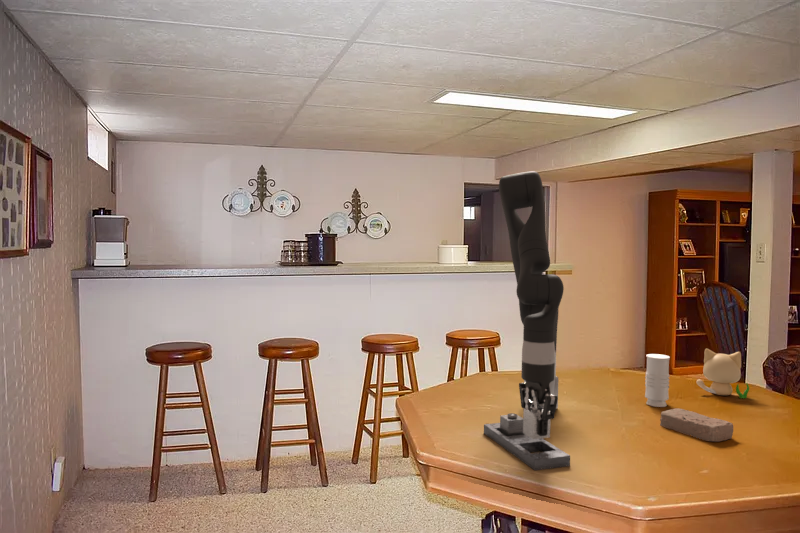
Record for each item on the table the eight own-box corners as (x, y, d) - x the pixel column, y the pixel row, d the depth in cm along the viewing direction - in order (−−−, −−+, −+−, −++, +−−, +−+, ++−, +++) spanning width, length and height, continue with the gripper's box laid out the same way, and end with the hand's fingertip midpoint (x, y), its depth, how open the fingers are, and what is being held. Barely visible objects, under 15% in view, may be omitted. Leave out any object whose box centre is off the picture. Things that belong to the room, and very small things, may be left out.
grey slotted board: (514, 430, 163) (514, 421, 163) (570, 466, 138) (570, 455, 138) (483, 433, 160) (483, 424, 160) (534, 470, 135) (535, 459, 135)
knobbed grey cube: (515, 436, 158) (516, 411, 157) (524, 442, 153) (524, 416, 153) (499, 438, 156) (500, 412, 156) (508, 444, 152) (508, 418, 151)
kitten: (749, 394, 201) (751, 349, 200) (747, 401, 192) (749, 354, 191) (699, 388, 209) (701, 344, 208) (695, 394, 200) (697, 349, 199)
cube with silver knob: (539, 431, 146) (540, 403, 145) (550, 437, 142) (550, 408, 141) (523, 433, 144) (523, 405, 144) (532, 439, 140) (533, 410, 140)
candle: (644, 405, 187) (645, 357, 186) (644, 400, 193) (646, 353, 192) (668, 408, 184) (670, 359, 183) (668, 402, 191) (669, 355, 190)
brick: (658, 426, 168) (658, 409, 168) (678, 422, 172) (679, 405, 172) (713, 445, 153) (714, 427, 153) (734, 440, 157) (735, 422, 157)
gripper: (569, 365, 136) (567, 440, 137) (536, 353, 150) (535, 421, 151) (540, 367, 134) (538, 443, 135) (509, 354, 148) (507, 424, 149)
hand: (536, 431), depth 143 cm, fingers closed on cube with silver knob, 4 cm apart
